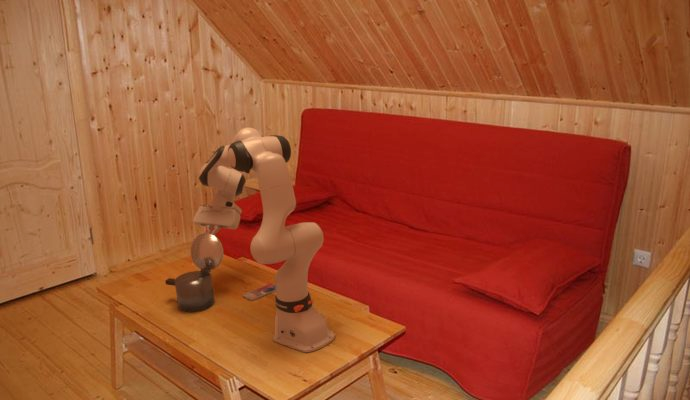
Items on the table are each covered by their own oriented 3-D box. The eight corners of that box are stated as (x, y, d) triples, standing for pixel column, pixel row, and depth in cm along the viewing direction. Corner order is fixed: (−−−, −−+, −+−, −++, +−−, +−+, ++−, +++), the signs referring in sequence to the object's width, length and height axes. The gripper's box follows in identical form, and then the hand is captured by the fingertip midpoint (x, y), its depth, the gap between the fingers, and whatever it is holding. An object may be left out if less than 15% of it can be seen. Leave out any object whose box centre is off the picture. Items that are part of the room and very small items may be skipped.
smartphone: (241, 295, 226) (271, 282, 236) (241, 297, 226) (271, 284, 236) (251, 300, 221) (282, 287, 230) (251, 302, 221) (282, 289, 231)
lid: (189, 269, 228) (193, 269, 230) (220, 274, 222) (224, 273, 225) (191, 231, 228) (196, 231, 230) (222, 235, 222) (226, 234, 224)
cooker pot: (181, 291, 233) (177, 267, 229) (221, 298, 225) (218, 273, 222) (158, 307, 220) (154, 281, 217) (200, 314, 213) (196, 288, 210)
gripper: (196, 200, 234) (185, 230, 228) (238, 204, 226) (227, 235, 220) (204, 207, 239) (193, 237, 233) (245, 211, 231) (234, 241, 225)
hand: (210, 236), depth 227 cm, fingers closed
